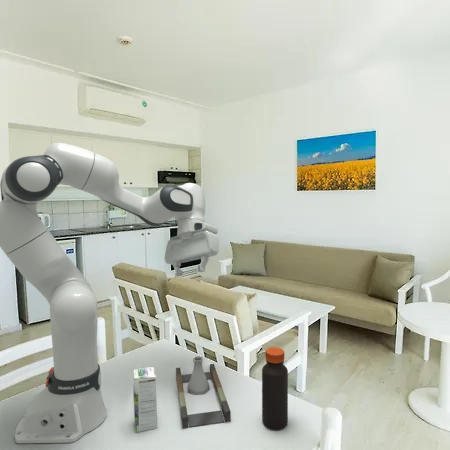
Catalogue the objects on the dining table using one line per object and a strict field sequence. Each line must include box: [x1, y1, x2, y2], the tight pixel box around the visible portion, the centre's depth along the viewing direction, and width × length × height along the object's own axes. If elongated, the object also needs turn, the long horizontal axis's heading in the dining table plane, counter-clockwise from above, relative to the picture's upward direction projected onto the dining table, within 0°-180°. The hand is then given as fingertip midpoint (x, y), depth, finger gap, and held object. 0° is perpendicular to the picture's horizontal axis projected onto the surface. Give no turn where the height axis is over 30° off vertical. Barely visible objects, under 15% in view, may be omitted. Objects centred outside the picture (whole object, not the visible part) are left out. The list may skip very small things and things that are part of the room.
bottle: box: [261, 346, 289, 431], centre depth 94 cm, size 7×7×20 cm
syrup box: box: [133, 366, 158, 433], centre depth 95 cm, size 6×6×14 cm
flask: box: [187, 355, 211, 395], centre depth 112 cm, size 7×7×10 cm
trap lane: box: [175, 363, 232, 429], centre depth 107 cm, size 13×27×3 cm, turn 11°
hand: (189, 274), depth 109 cm, fingers open, 8 cm apart
